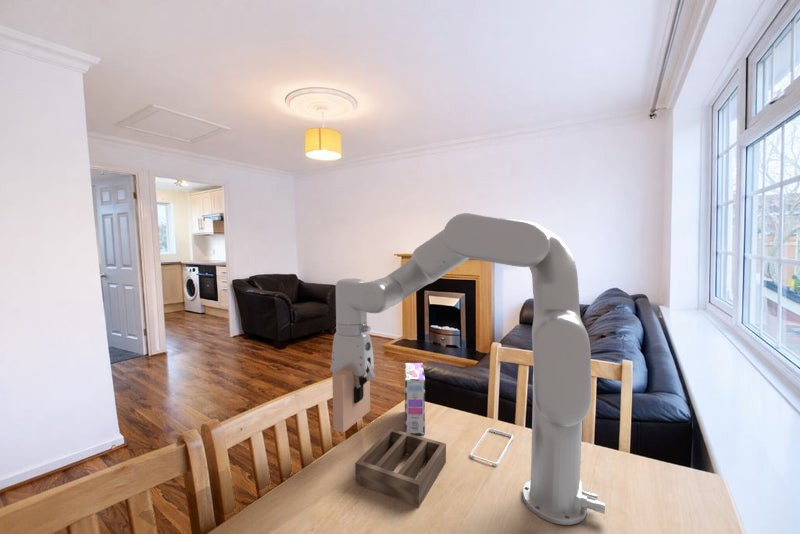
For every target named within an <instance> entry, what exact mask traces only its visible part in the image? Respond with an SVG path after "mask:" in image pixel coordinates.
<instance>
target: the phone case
mask: <svg viewBox="0 0 800 534" xmlns="http://www.w3.org/2000/svg"><path fill="white" fill-rule="evenodd" d="M489 432H491V433H494V432H495V434H498V435H501V434H502V436H504V435H505V437H508V436H509V437H508V438H510V439H509V441H508V442H507V445H506V446H505V448H504V450H503V451H502V453H501V455H500V457H499V458H498V460H497V461H496V462H495V461H492V460H489V459H486V458H483V457H480V456H477V455H475V454H474V453H475V451H476V450H477V449H478V448H479V446H480V445H481V443H482V442H483V440H484V439H485V437H486V436H487V435H488V433H489ZM512 440H513V441H514V435H513V433H512V434H511V433H509V432H505V431H502V430H498V429H495V428H491V427H489V428H487V429H486V431H485V432H484V433H483V434H482V436H481V438H480V439H479V440H478V442H477V443H476V444H475V445H474V447H473V449H472V450H471V451H470V459H472V460H475V459H478V460H481V461H485V462H487V463H490V464H492V465H491V466H493V467H499V466H500V464H501V462H502V461H503V459H504V456H505V455H506V453H507V451H508V449H509V446H510V445H511V443H512V442H513V441H512Z"/></svg>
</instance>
